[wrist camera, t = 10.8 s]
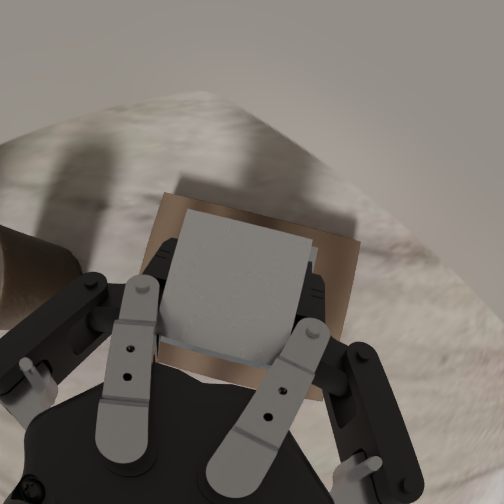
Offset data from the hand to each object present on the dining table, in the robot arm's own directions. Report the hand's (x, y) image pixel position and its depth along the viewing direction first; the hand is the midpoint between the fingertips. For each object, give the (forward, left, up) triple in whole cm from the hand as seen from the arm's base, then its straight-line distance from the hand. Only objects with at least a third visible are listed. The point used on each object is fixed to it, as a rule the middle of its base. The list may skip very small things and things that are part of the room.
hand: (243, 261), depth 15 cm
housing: (0, -2, -7) cm, 7 cm away
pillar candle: (-22, -6, -18) cm, 29 cm away
